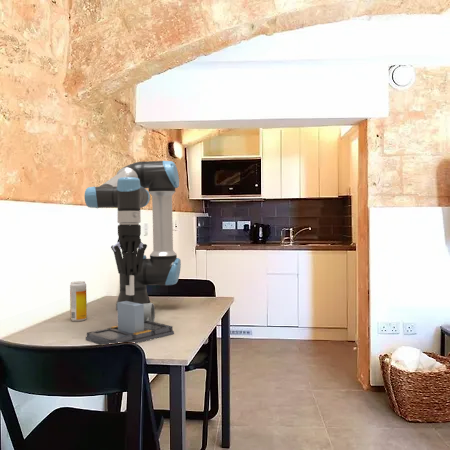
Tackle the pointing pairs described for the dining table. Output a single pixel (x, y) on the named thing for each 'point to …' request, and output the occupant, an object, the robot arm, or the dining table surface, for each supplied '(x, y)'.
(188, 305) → the dining table surface
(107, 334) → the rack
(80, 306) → the beer can
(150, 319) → the ceramic mug
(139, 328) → the blue-grey rectangular block
